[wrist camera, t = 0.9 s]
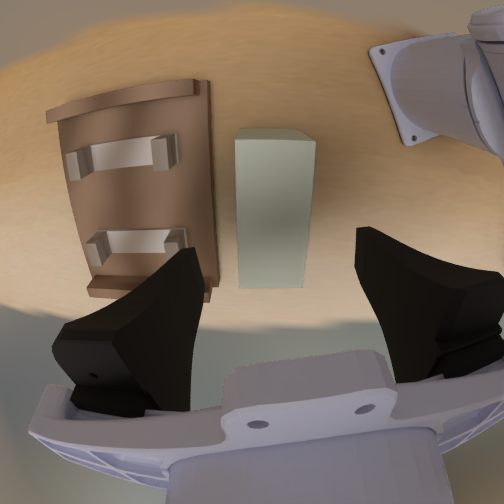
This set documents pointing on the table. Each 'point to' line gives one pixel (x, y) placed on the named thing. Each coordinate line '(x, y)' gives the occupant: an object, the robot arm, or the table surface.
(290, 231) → the tapered sage green block
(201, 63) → the table surface
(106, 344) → the robot arm
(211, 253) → the brown wooden holder
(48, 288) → the table surface
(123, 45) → the table surface
